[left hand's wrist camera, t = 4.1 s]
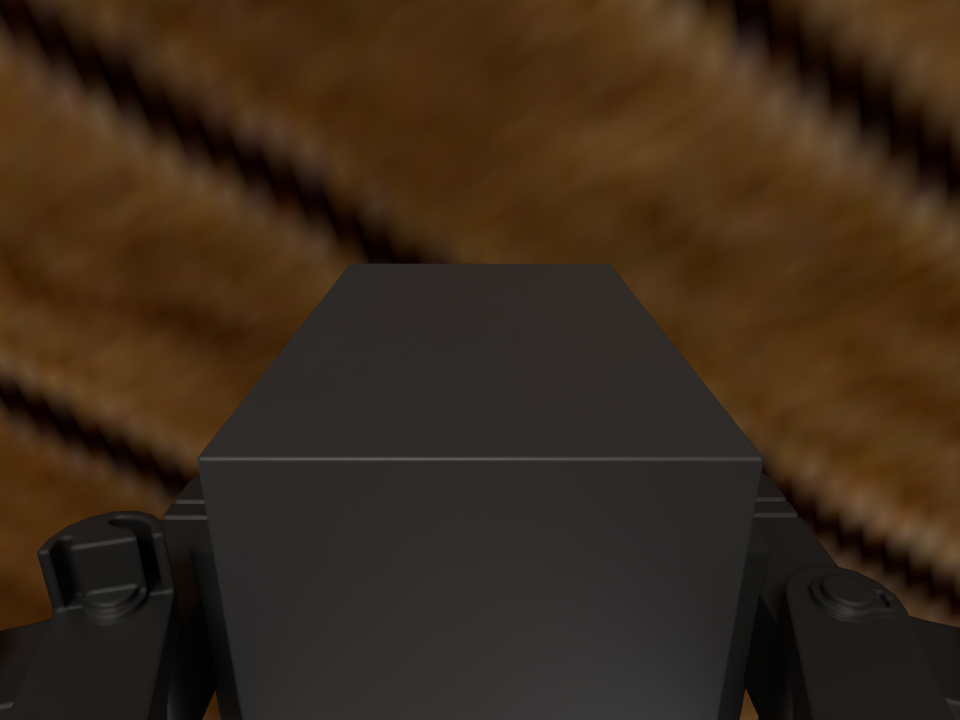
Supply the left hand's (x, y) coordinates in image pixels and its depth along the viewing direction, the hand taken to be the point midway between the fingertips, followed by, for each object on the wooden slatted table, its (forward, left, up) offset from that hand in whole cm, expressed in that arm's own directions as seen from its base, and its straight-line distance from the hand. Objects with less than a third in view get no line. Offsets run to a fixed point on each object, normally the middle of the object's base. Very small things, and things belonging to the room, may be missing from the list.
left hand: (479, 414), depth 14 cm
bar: (-4, +7, 0) cm, 8 cm away
